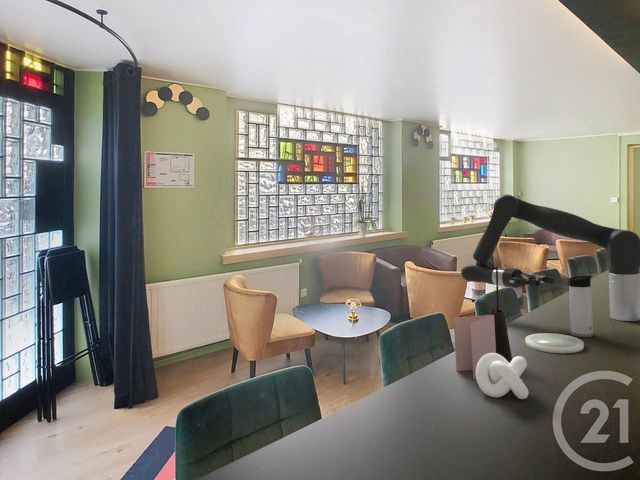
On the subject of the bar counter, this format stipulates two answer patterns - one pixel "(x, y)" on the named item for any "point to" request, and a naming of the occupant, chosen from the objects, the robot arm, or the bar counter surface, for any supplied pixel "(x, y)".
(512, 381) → the white decorative knot
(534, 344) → the plate
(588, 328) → the travel mug
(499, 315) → the butter churn
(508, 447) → the bar counter surface
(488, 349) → the greeting card
